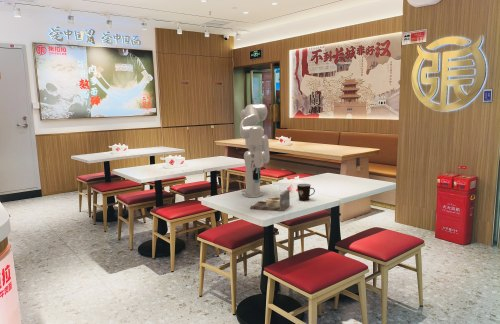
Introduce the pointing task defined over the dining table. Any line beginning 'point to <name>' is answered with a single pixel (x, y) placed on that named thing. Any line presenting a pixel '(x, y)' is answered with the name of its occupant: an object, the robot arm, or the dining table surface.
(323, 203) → the dining table surface
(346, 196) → the dining table surface
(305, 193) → the coffee mug
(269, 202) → the slider block
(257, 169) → the dowel
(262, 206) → the rail board
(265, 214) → the dining table surface
